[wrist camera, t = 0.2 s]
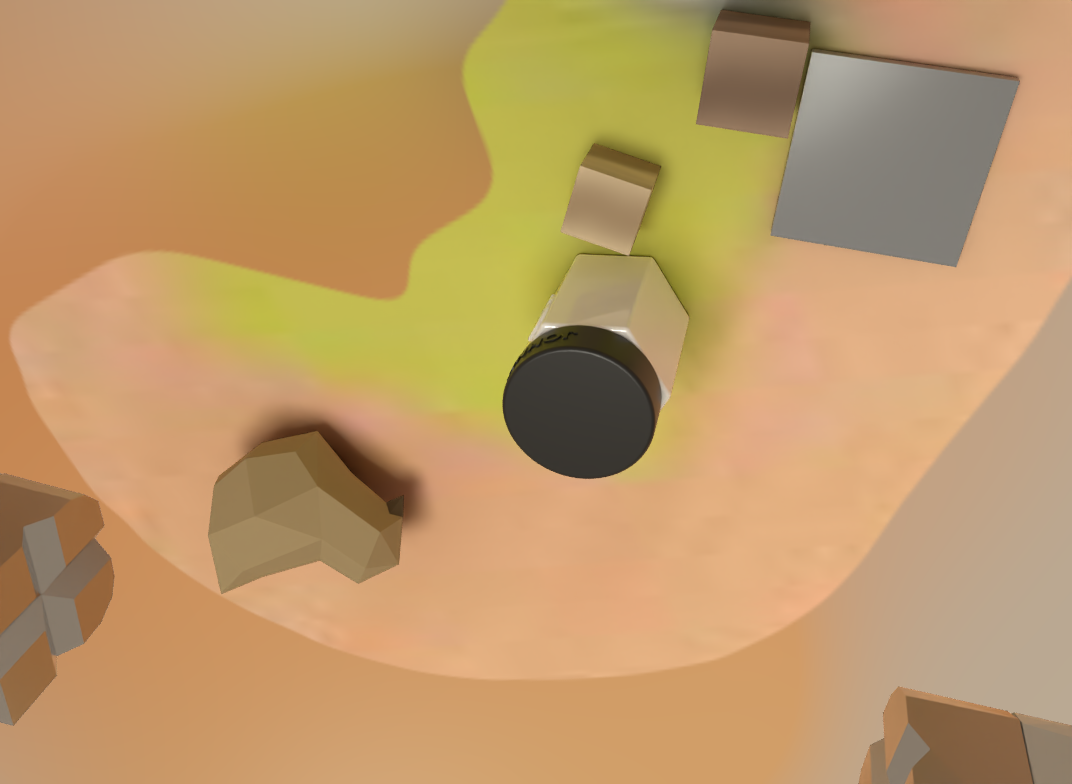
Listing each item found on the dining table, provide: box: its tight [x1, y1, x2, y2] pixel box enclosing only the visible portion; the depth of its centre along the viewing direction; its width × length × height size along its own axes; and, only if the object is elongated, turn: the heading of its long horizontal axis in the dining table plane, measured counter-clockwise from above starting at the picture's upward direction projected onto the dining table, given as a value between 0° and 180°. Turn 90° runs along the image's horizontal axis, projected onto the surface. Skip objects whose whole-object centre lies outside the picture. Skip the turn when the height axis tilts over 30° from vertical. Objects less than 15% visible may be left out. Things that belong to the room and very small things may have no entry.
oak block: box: [561, 143, 661, 256], centre depth 55 cm, size 4×4×4 cm
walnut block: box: [696, 10, 810, 138], centre depth 49 cm, size 4×4×5 cm
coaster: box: [771, 49, 1020, 267], centre depth 52 cm, size 10×10×1 cm
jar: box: [503, 254, 689, 479], centre depth 56 cm, size 9×8×12 cm
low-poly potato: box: [208, 431, 404, 594], centre depth 70 cm, size 15×11×12 cm
